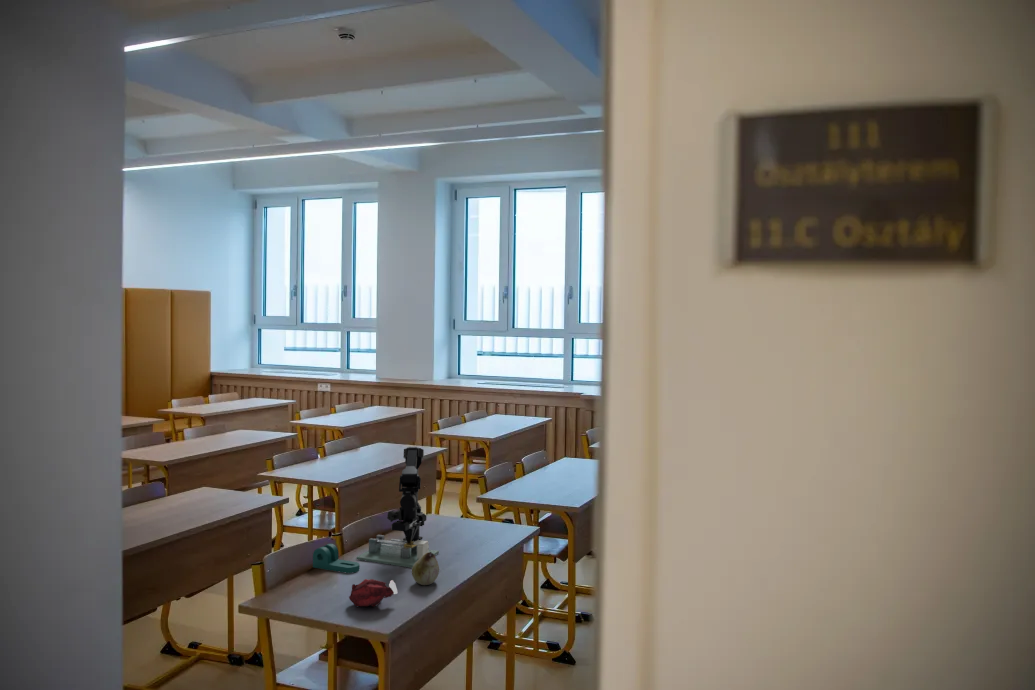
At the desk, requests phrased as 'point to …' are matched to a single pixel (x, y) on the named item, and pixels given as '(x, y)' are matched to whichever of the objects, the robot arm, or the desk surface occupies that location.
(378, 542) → the gold-ended metal bar
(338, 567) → the bracket
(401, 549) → the grey rail mechanism
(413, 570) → the fruit
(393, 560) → the board
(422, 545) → the white block
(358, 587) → the red meat drumstick
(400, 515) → the robot arm
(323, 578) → the desk surface
